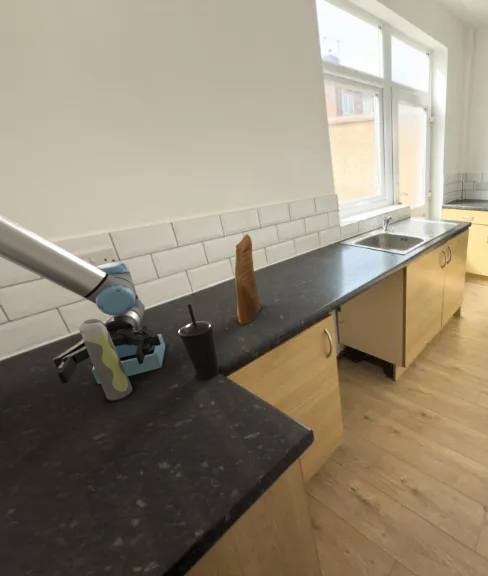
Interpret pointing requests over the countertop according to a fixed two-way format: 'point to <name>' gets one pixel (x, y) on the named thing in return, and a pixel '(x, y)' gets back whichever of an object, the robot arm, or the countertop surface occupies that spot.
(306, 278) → the countertop surface
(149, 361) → the blue rectangular frame
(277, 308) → the countertop surface
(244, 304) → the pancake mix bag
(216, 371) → the drinking cup
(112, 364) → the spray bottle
